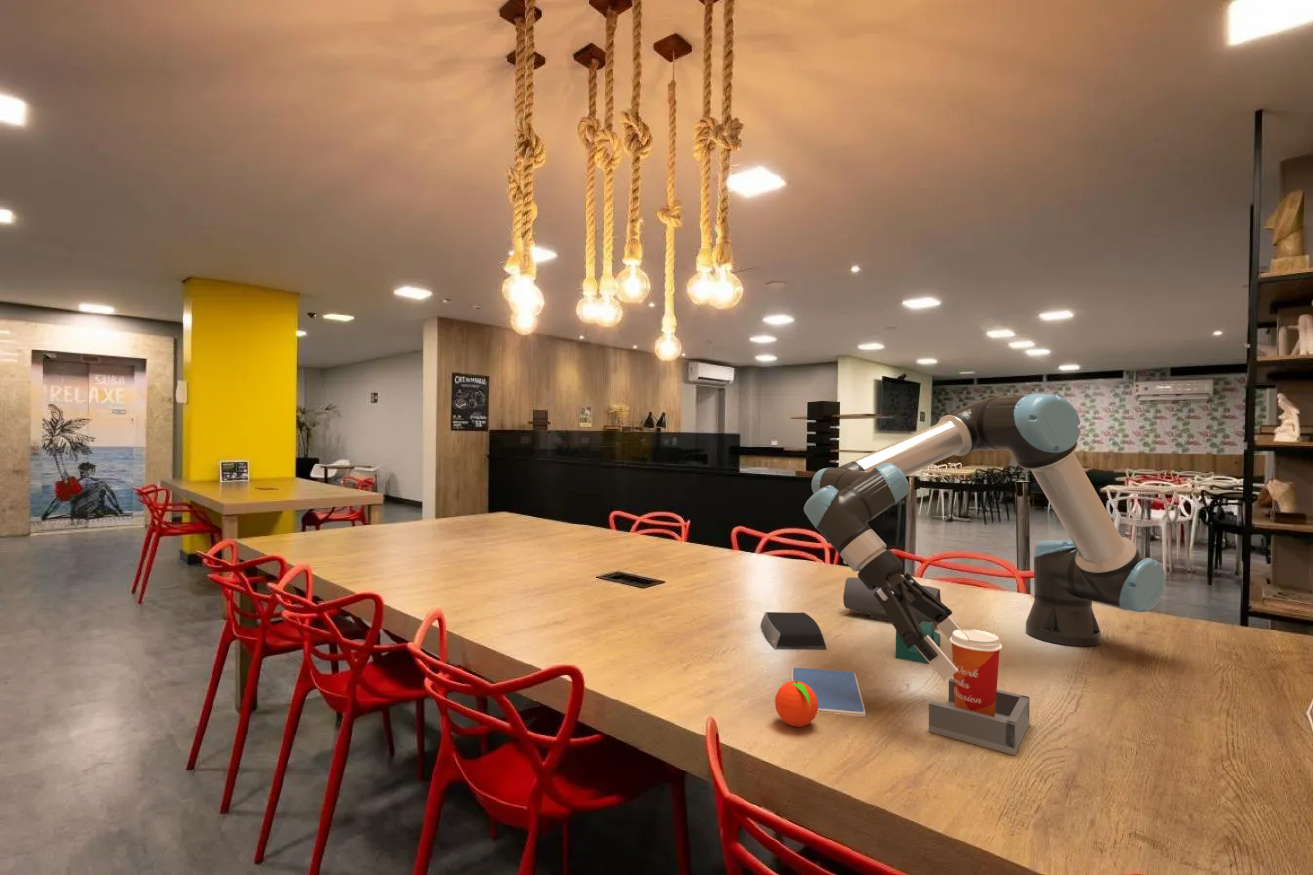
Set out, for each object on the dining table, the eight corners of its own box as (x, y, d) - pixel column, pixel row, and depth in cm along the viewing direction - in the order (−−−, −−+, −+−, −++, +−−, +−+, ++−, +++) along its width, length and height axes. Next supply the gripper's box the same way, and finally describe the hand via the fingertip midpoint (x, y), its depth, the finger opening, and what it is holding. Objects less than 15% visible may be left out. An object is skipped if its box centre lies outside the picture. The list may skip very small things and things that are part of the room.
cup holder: (1029, 723, 105) (1029, 696, 105) (1014, 755, 95) (1014, 725, 95) (950, 704, 113) (950, 678, 113) (928, 731, 102) (928, 703, 102)
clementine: (829, 734, 101) (830, 689, 101) (790, 740, 99) (791, 694, 99) (804, 713, 109) (804, 671, 109) (767, 718, 107) (767, 675, 107)
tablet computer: (866, 720, 107) (866, 712, 107) (790, 712, 110) (790, 705, 110) (855, 678, 126) (855, 671, 126) (790, 672, 129) (790, 666, 129)
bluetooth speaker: (941, 622, 163) (941, 583, 163) (935, 631, 155) (935, 590, 155) (852, 608, 175) (852, 572, 175) (842, 616, 168) (842, 578, 168)
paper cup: (939, 710, 107) (940, 628, 107) (983, 709, 108) (983, 627, 108) (965, 732, 100) (966, 643, 100) (1012, 731, 100) (1013, 642, 100)
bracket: (929, 665, 133) (929, 627, 133) (895, 658, 136) (895, 622, 136) (942, 641, 148) (942, 608, 148) (911, 636, 151) (911, 603, 151)
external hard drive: (771, 651, 141) (771, 632, 141) (757, 625, 161) (758, 609, 161) (830, 652, 141) (830, 633, 141) (809, 626, 160) (809, 609, 160)
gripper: (880, 563, 126) (961, 655, 116) (829, 585, 106) (923, 699, 97) (908, 539, 122) (994, 632, 113) (861, 558, 103) (961, 672, 94)
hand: (961, 663), depth 105 cm, fingers open, 13 cm apart
